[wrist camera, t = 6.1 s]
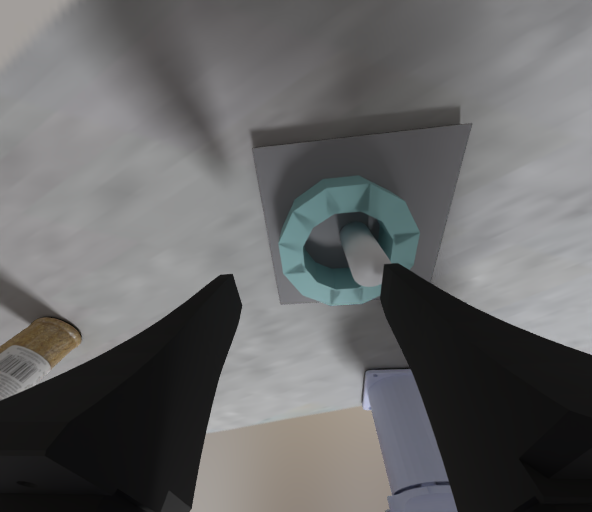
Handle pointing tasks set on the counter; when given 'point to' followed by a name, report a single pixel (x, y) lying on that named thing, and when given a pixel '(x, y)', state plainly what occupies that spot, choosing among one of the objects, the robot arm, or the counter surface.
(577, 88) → the counter surface
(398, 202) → the ring
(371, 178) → the pin board
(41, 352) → the sprinkles bottle
